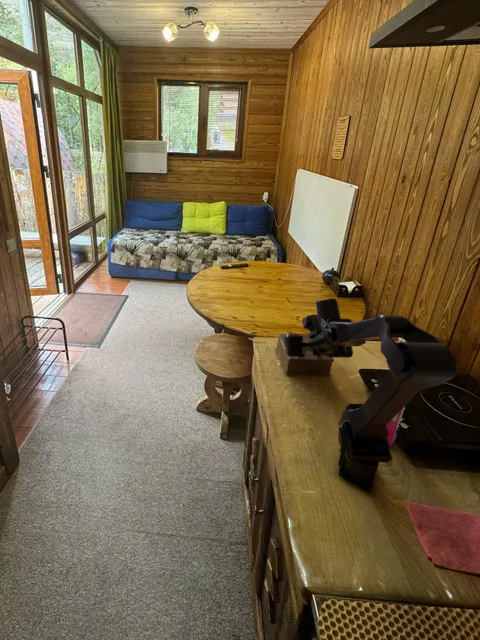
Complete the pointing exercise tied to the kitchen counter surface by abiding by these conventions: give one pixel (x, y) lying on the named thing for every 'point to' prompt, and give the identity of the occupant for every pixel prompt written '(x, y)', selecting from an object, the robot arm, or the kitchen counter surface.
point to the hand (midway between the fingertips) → (308, 350)
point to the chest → (302, 364)
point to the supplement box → (394, 427)
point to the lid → (308, 355)
